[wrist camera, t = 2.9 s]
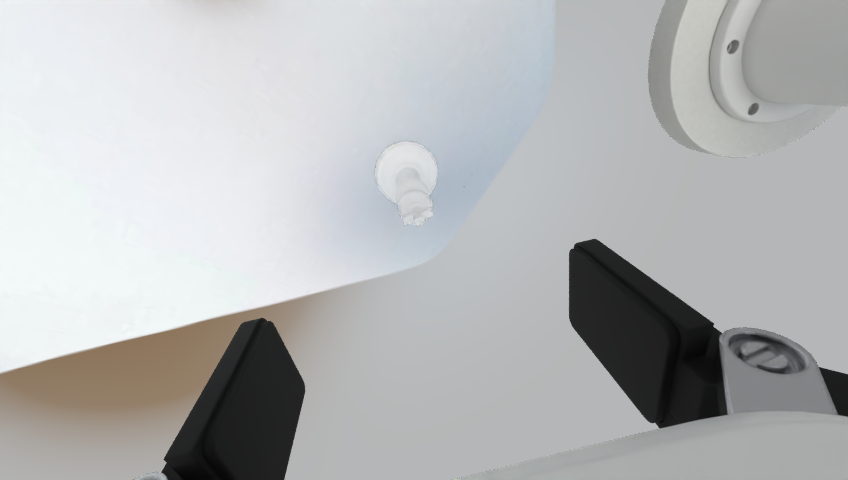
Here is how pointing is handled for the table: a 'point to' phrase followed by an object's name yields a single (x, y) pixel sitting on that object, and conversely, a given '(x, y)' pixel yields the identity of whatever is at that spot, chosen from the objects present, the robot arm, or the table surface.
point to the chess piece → (408, 180)
